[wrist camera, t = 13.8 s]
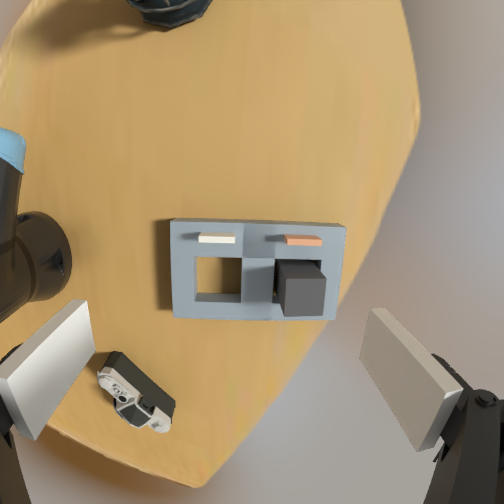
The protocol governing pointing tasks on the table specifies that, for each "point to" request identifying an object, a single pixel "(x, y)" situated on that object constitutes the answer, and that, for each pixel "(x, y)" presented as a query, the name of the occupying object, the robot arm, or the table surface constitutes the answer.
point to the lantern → (170, 11)
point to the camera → (136, 394)
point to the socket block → (251, 264)
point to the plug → (300, 287)
